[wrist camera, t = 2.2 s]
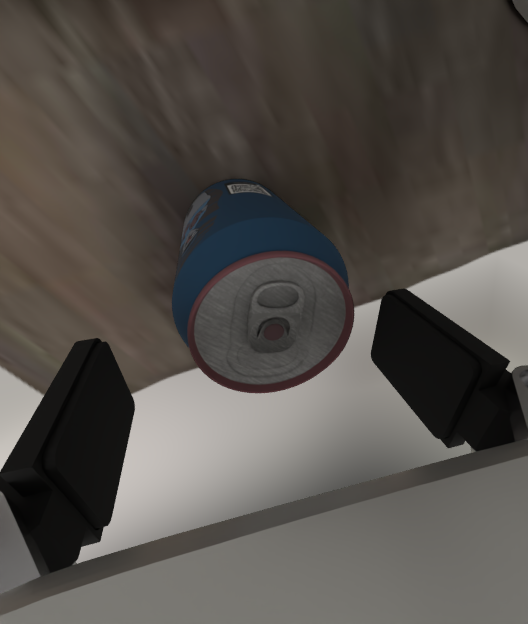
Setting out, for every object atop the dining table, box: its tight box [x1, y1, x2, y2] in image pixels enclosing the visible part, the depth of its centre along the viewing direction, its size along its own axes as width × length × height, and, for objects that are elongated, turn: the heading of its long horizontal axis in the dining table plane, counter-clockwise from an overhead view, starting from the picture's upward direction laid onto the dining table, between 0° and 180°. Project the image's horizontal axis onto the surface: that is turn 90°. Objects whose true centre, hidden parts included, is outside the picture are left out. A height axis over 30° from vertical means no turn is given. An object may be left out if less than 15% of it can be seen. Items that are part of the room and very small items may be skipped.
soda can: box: [172, 179, 354, 393], centre depth 14 cm, size 7×7×12 cm
